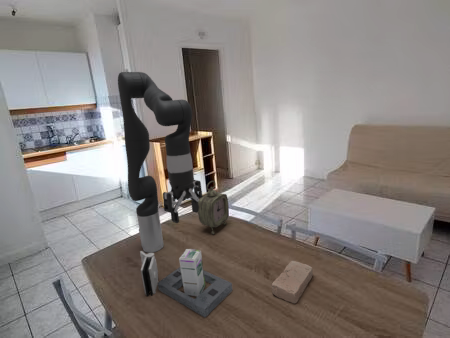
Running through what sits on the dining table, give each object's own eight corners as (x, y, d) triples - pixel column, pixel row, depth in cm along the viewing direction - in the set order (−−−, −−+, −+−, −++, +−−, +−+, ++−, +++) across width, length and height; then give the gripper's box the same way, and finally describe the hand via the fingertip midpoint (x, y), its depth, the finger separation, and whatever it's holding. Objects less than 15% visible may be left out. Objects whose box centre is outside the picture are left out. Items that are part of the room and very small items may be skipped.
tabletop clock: (213, 237, 128) (209, 187, 121) (198, 232, 133) (193, 184, 126) (229, 224, 140) (226, 177, 133) (215, 220, 144) (211, 176, 138)
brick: (291, 268, 102) (291, 258, 100) (313, 276, 97) (313, 265, 95) (271, 296, 89) (270, 284, 88) (295, 306, 84) (295, 294, 83)
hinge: (143, 274, 105) (139, 251, 102) (157, 270, 106) (154, 247, 104) (144, 297, 92) (140, 272, 90) (161, 293, 94) (157, 268, 91)
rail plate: (158, 290, 95) (157, 282, 94) (187, 269, 106) (186, 261, 105) (205, 317, 82) (204, 309, 81) (232, 290, 92) (231, 282, 92)
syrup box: (200, 297, 90) (195, 259, 87) (183, 295, 92) (178, 257, 88) (205, 285, 96) (201, 249, 92) (190, 283, 97) (185, 248, 93)
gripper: (188, 161, 90) (193, 206, 94) (153, 172, 79) (160, 223, 83) (205, 163, 85) (209, 211, 89) (170, 176, 74) (177, 229, 79)
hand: (186, 217), depth 86 cm, fingers open, 8 cm apart
